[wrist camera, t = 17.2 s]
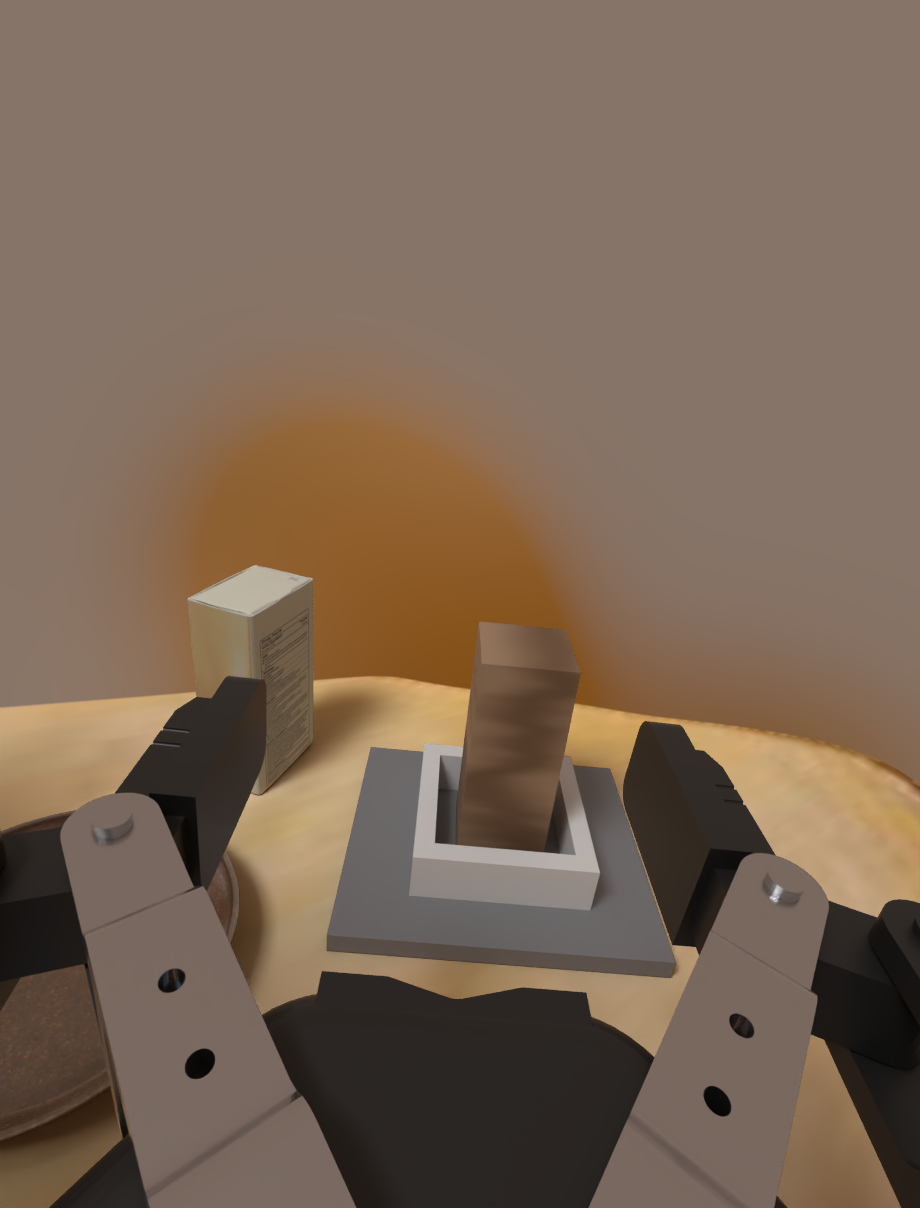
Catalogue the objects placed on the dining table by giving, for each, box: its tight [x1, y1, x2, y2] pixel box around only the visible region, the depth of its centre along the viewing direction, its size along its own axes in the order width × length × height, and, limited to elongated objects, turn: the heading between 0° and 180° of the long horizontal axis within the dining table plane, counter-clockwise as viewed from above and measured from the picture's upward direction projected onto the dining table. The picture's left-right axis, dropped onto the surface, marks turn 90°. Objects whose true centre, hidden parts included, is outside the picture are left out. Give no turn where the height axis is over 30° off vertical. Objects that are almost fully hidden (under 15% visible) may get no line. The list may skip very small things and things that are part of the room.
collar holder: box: [327, 743, 675, 978], centre depth 34 cm, size 16×14×4 cm
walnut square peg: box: [455, 622, 581, 852], centre depth 32 cm, size 4×4×12 cm
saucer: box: [0, 810, 239, 1141], centre depth 26 cm, size 15×15×3 cm
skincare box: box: [188, 565, 313, 795], centre depth 38 cm, size 6×4×12 cm
